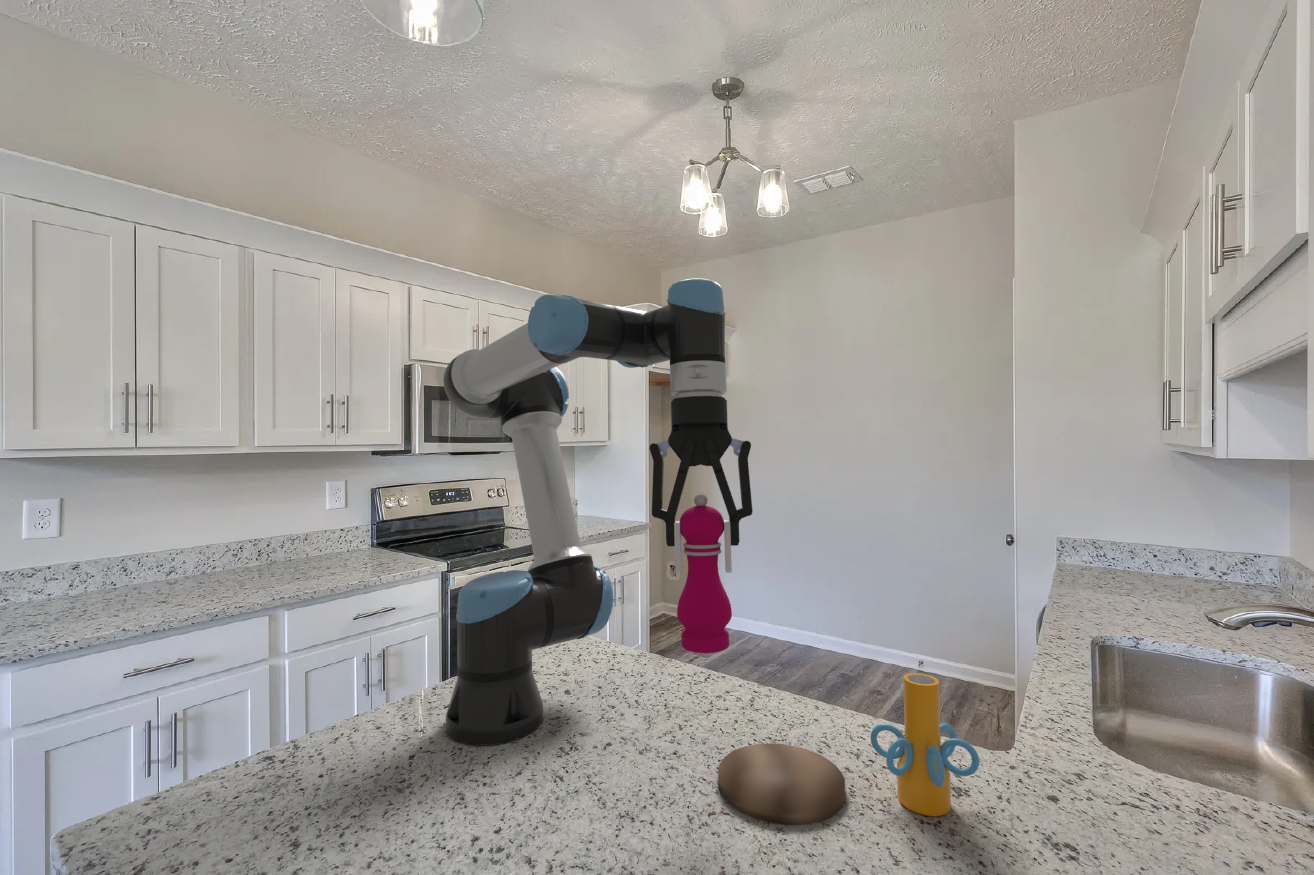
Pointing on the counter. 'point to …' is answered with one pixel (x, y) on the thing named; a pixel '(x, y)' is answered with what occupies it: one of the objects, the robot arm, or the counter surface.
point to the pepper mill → (703, 581)
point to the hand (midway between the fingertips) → (703, 570)
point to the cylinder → (923, 750)
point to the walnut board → (781, 784)
